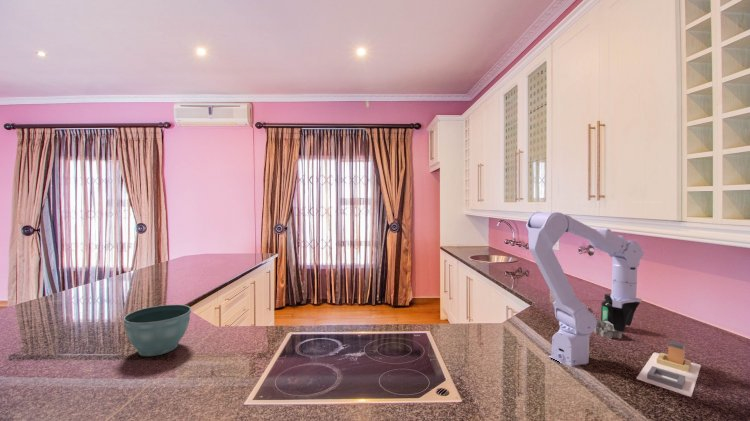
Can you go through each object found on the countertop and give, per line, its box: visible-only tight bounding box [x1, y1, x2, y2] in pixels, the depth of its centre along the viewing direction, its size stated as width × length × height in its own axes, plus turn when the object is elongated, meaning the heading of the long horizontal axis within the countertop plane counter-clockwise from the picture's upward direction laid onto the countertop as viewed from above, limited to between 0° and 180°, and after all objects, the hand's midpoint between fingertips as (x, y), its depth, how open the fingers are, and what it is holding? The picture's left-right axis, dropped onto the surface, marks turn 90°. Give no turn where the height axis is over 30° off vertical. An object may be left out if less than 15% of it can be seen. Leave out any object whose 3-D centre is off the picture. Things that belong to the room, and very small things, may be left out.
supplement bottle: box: [600, 293, 613, 324], centre depth 119 cm, size 7×7×12 cm
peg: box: [667, 340, 686, 365], centre depth 89 cm, size 3×3×6 cm
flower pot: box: [123, 304, 192, 357], centre depth 93 cm, size 16×16×11 cm
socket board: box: [636, 352, 702, 398], centre depth 85 cm, size 24×10×2 cm, turn 131°
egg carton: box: [593, 320, 623, 340], centre depth 113 cm, size 11×8×4 cm
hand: (622, 327), depth 93 cm, fingers open, 7 cm apart
